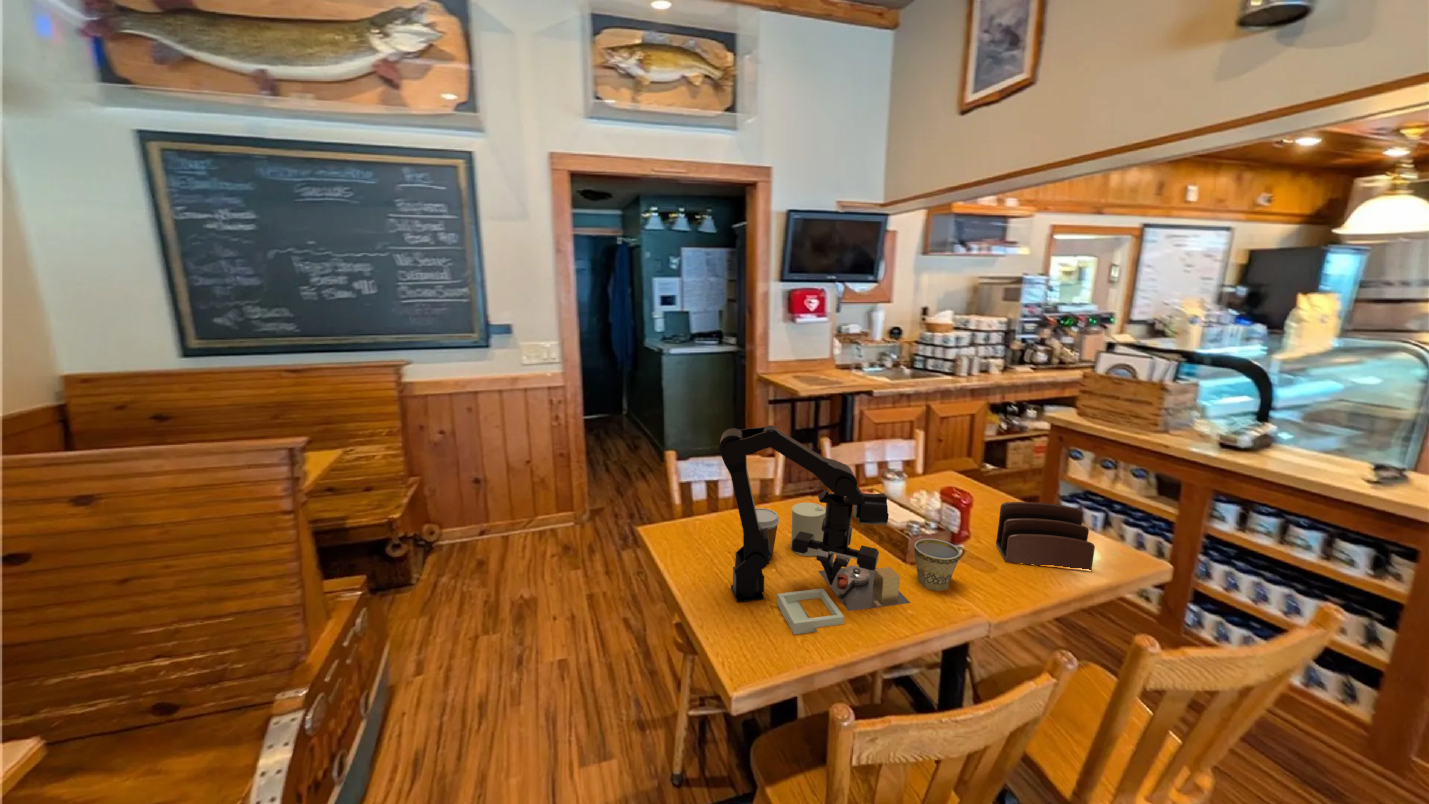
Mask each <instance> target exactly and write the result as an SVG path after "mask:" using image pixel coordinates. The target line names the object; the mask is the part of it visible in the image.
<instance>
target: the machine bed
mask: <svg viewBox="0 0 1429 804" xmlns="http://www.w3.org/2000/svg"><path fill="white" fill-rule="evenodd" d="M845 568H846V567H841V569H840V570H839V571H838V573H837V575H839V574H844V569H845ZM877 568H878V567H876V568H875V569H877ZM866 570H868V569H866ZM868 571H869V580H868V581H867V582H866V583H854V584H853V585H852V586H851V587H850V588H849V589H848V590H847V591H846V592H845V593H844V594H841V593H838V592H837V575H836V577H835V579H834V581H833V583H832V585H830V584H829V581H828V578H827V575H826V572H825V570H824V569H822V570H818V573H819V575H820V576H821V577H822V578H823V580H824V581H825V582H826V583H827V585H828V586H829V587H830V589H831V590H832V591H833V592H834V594H835V595H836V597H837V598H838V599H839V601H840V602H841V603H842V605H843V606H844V608H845V609H846V610H847V611H848V612H851V611H859V610H867V609H874V608H882V607H889V606H896V605H905V604H911V601H910V600H909V599H908V598H907V597H906V596H905V595H903V593H902V592H901V591H900V590H899V591H898V600H895V601H887V602H881V601H880V600H879V599H878V598H877V597H876V595H875V594H874V593H873V583H874V570H868Z"/></svg>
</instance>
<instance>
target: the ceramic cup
mask: <svg viewBox="0 0 1429 804" xmlns="http://www.w3.org/2000/svg"><path fill="white" fill-rule="evenodd" d="M913 546H914V548H913V549H914V558H915V564H916V572H917V583H919V584H920V585H921V586H922V587H924V588H925V589H927V590H931V591H937V592H941V591H946V590H948V589H949V587H950V584H951V581H952V579H953V578H952V577H953V575H954V572H955V569H956V567H957V565H958V562H959V561H961V560H962V558H963V557H964V556H965V555H966V550H965V548H964V547H962V546H956V545H954V544H953V543H950V542H948V541H946V540H943V539H942V540H941V539H938V538H922V539H919V540H917V541H916V542H914V545H913ZM961 551H962V553H961Z"/></svg>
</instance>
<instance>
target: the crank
mask: <svg viewBox="0 0 1429 804" xmlns="http://www.w3.org/2000/svg"><path fill="white" fill-rule="evenodd" d="M844 568H845V569H844V574H839V575H837V592H838V593H841V594H844V593H845V592H846V591H847V590H848V589H849V588H850V587H851V586H852V585H853V584H854V583H866V582H867V581H868V580H869V571H868V570H866V569H864V568H860V567H859V566H858V565H847V567H844Z"/></svg>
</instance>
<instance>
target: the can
mask: <svg viewBox="0 0 1429 804" xmlns="http://www.w3.org/2000/svg"><path fill="white" fill-rule="evenodd" d="M825 511H826V507H825V506H823V505H821V504H818V503H814V502H799V503H796V504H794V505H793V506H792V507H791V538H790V539H791V540H790V542H791V543H790V548H791V547H792V541H793V539H794V537H795V536H796V534H797V533H798V532H800V531H801V532H805V533H810V534H814V540H816V541H820V542H822V541H823V531H822V530H821V529H822V523H823V519H824V518H825ZM792 552H794V551H792ZM794 553H795V554H796V555H799V556H803V557H817V555H818V550H816V549H812V548H808V551H807V552H806V553H804V554H803V553H798V552H794Z"/></svg>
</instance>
